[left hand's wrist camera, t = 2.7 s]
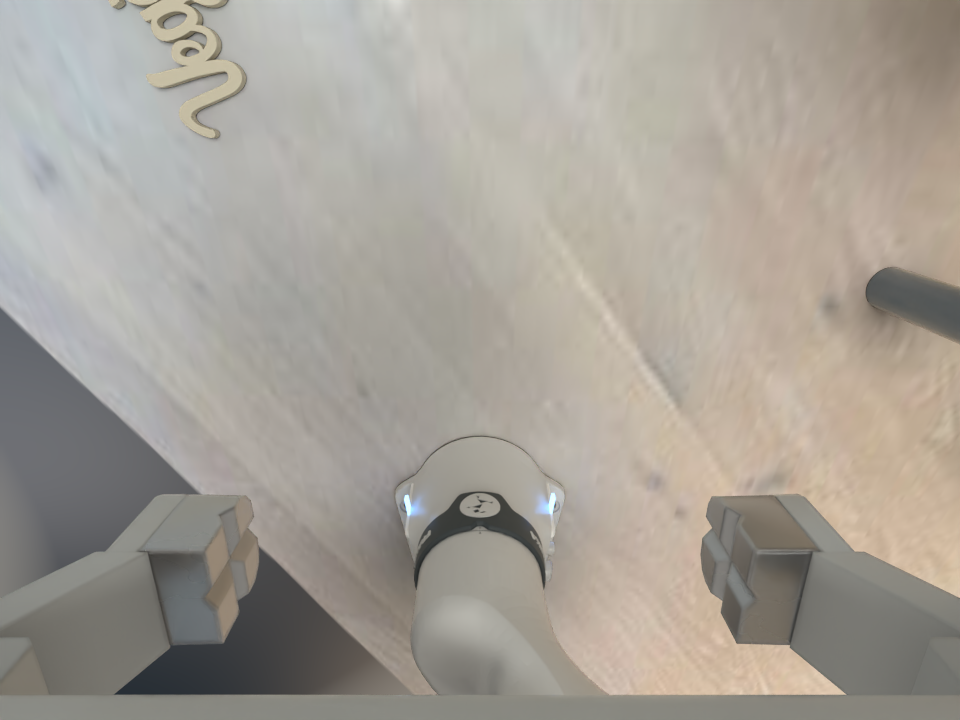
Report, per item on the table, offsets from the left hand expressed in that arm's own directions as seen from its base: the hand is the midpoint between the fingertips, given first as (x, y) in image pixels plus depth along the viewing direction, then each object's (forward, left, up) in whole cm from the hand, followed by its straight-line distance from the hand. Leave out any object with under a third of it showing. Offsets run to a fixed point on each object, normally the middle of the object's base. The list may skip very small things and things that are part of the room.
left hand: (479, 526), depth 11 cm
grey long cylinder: (-7, -40, -48) cm, 63 cm away
